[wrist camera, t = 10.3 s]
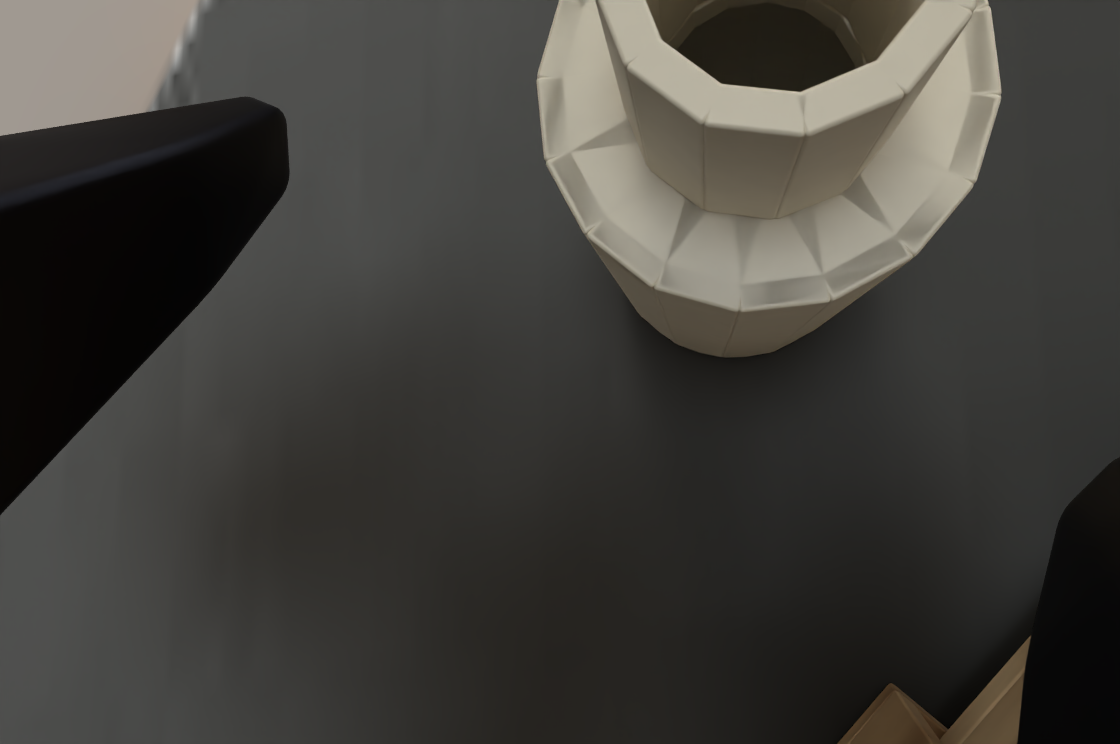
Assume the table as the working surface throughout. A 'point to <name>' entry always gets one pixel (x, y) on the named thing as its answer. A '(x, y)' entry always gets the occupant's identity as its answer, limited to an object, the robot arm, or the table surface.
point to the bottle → (763, 150)
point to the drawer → (994, 708)
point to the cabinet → (895, 722)
